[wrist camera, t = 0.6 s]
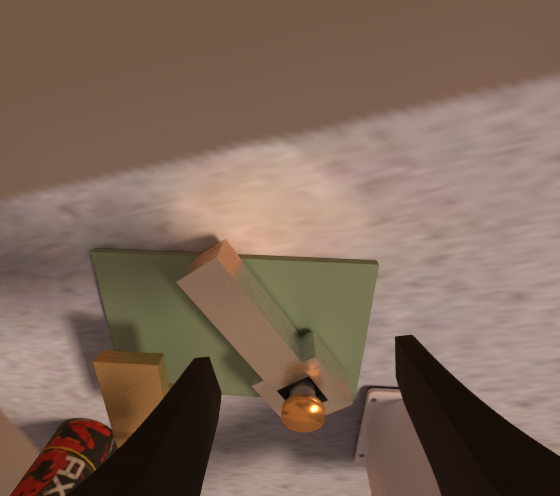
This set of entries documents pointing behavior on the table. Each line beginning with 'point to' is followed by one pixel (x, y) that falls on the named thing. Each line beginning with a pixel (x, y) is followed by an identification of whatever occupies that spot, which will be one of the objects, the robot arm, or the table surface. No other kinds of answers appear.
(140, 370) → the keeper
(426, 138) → the table surface
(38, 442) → the table surface
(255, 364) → the beige rectangular block
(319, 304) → the plate
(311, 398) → the orange round knob
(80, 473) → the deodorant
